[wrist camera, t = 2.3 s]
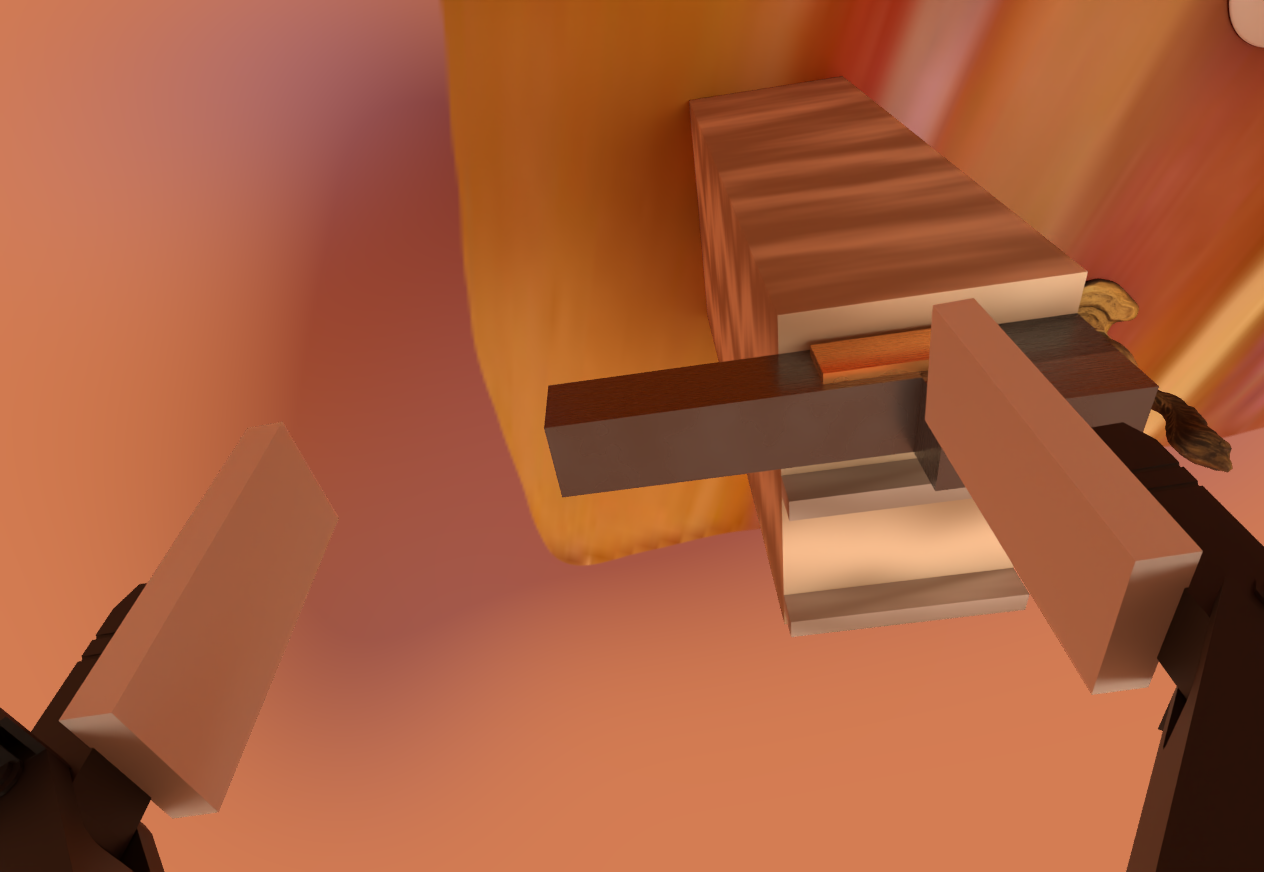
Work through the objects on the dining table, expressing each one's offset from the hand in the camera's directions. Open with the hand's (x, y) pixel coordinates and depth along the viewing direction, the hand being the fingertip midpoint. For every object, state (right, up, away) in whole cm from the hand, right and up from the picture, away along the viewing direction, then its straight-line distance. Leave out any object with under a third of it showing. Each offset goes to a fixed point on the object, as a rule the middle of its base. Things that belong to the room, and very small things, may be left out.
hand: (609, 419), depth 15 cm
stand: (+10, +16, +38) cm, 42 cm away
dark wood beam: (+7, +1, +11) cm, 13 cm away
